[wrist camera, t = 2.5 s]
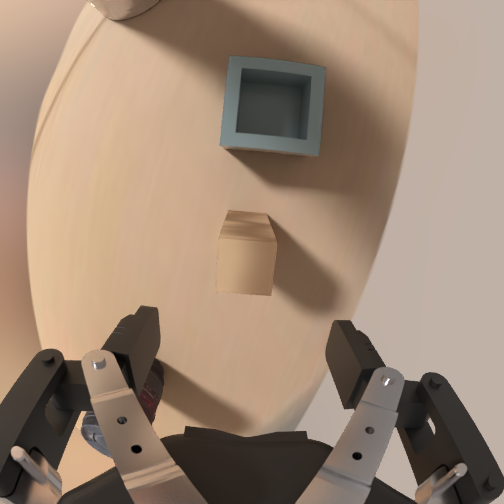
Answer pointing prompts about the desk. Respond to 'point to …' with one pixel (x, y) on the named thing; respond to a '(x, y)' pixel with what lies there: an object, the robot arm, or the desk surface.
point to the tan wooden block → (246, 254)
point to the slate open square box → (273, 106)
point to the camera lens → (146, 400)
